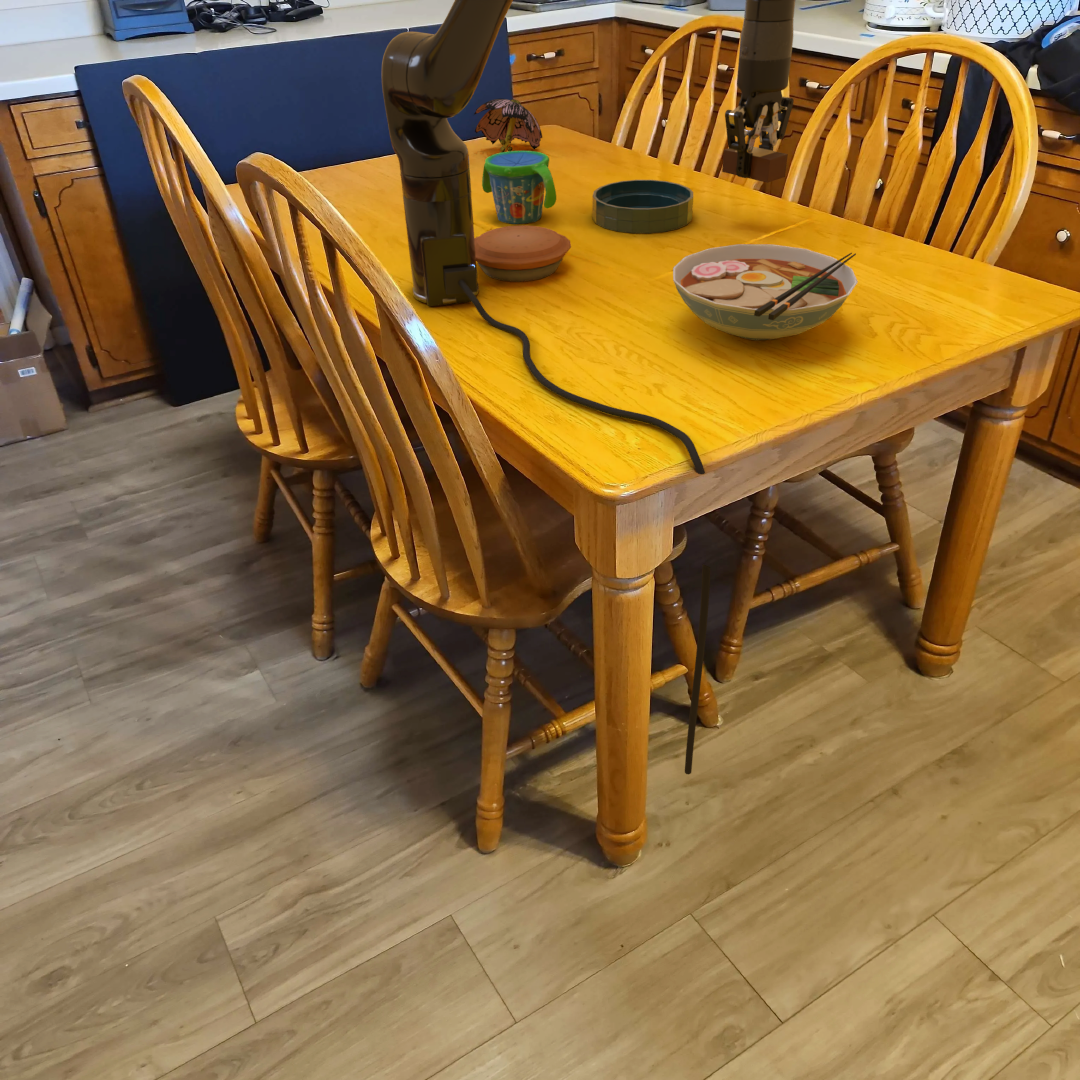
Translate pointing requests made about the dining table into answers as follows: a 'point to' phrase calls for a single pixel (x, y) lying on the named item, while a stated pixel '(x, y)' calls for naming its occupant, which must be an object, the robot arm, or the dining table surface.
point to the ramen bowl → (763, 288)
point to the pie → (520, 252)
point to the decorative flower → (508, 123)
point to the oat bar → (758, 164)
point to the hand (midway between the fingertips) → (753, 173)
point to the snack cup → (519, 185)
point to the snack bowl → (642, 206)
